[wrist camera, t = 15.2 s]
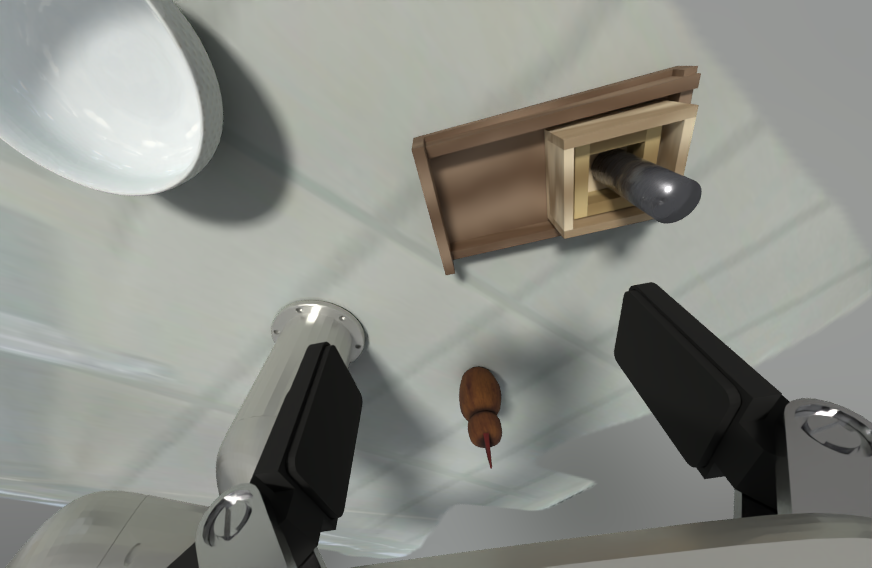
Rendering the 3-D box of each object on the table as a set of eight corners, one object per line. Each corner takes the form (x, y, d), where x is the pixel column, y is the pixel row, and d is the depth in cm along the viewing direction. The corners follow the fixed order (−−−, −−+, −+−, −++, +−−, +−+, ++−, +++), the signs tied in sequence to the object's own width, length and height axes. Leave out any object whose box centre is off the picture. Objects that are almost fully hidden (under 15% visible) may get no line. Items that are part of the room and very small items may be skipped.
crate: (643, 195, 33) (675, 214, 29) (547, 217, 34) (564, 238, 30) (658, 99, 28) (698, 105, 24) (544, 129, 29) (563, 139, 25)
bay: (653, 204, 35) (684, 223, 30) (443, 252, 37) (445, 275, 33) (677, 65, 27) (721, 66, 23) (413, 138, 30) (411, 149, 26)
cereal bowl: (262, 17, 25) (213, 3, 19) (237, 200, 33) (197, 228, 27) (-15, -139, 20) (-193, -222, 14) (37, 120, 28) (-62, 135, 23)
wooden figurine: (464, 358, 48) (477, 458, 36) (499, 363, 49) (524, 462, 37) (453, 385, 52) (461, 483, 40) (486, 389, 53) (504, 487, 41)
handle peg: (623, 177, 31) (695, 217, 23) (590, 185, 31) (649, 227, 23) (627, 143, 29) (706, 173, 21) (591, 152, 29) (656, 185, 21)
